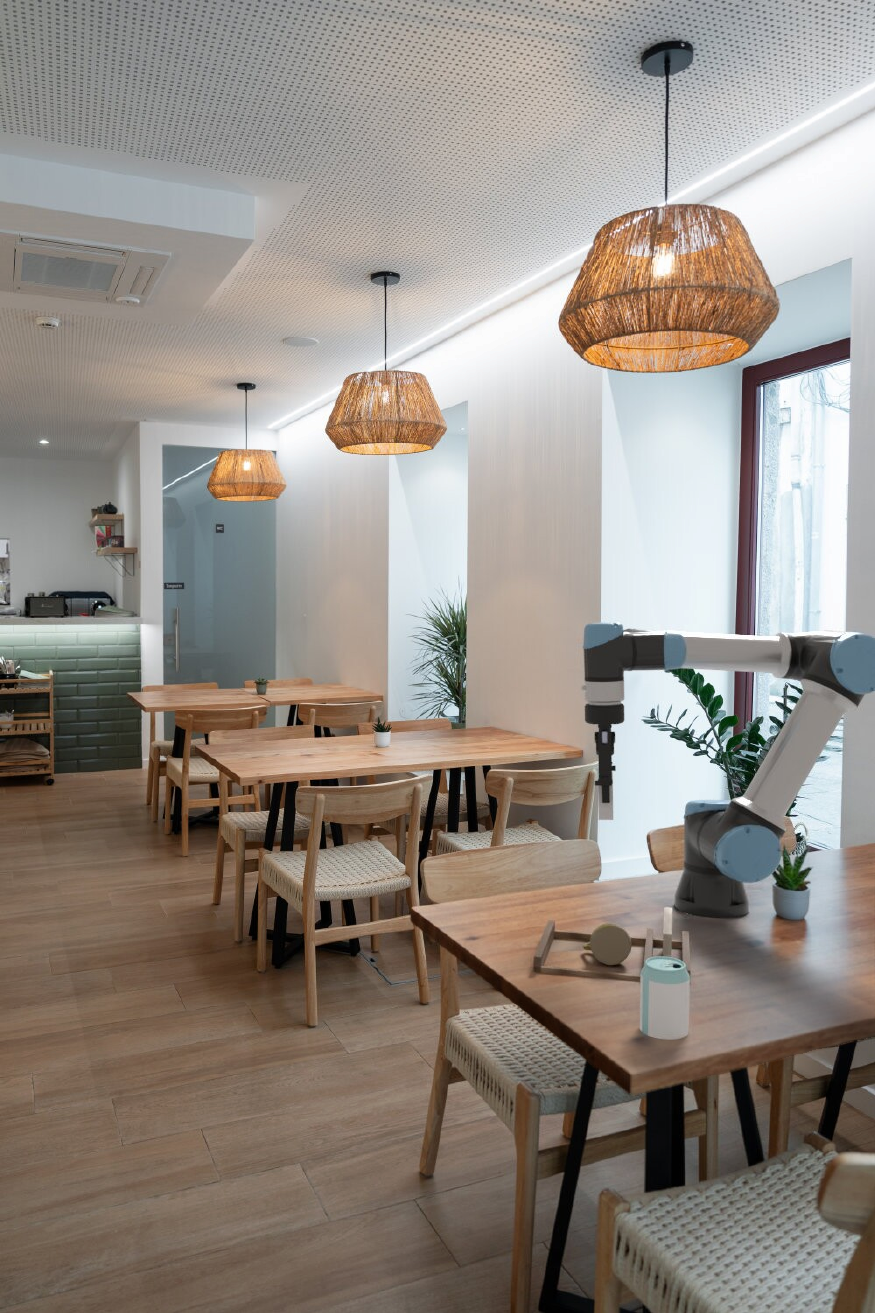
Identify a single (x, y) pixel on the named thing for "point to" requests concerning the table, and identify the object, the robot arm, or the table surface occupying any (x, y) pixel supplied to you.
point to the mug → (609, 944)
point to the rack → (576, 940)
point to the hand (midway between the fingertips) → (606, 811)
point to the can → (664, 998)
